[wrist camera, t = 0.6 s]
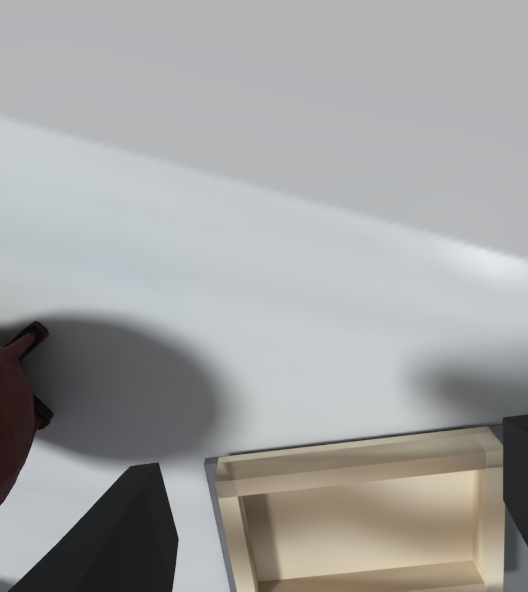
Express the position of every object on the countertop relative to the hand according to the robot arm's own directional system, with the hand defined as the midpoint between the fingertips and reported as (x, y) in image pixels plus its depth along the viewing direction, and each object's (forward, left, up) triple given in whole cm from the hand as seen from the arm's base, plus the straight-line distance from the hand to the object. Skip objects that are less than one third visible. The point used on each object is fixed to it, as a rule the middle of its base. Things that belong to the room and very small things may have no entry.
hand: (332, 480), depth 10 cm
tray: (-9, -2, -9) cm, 13 cm away
